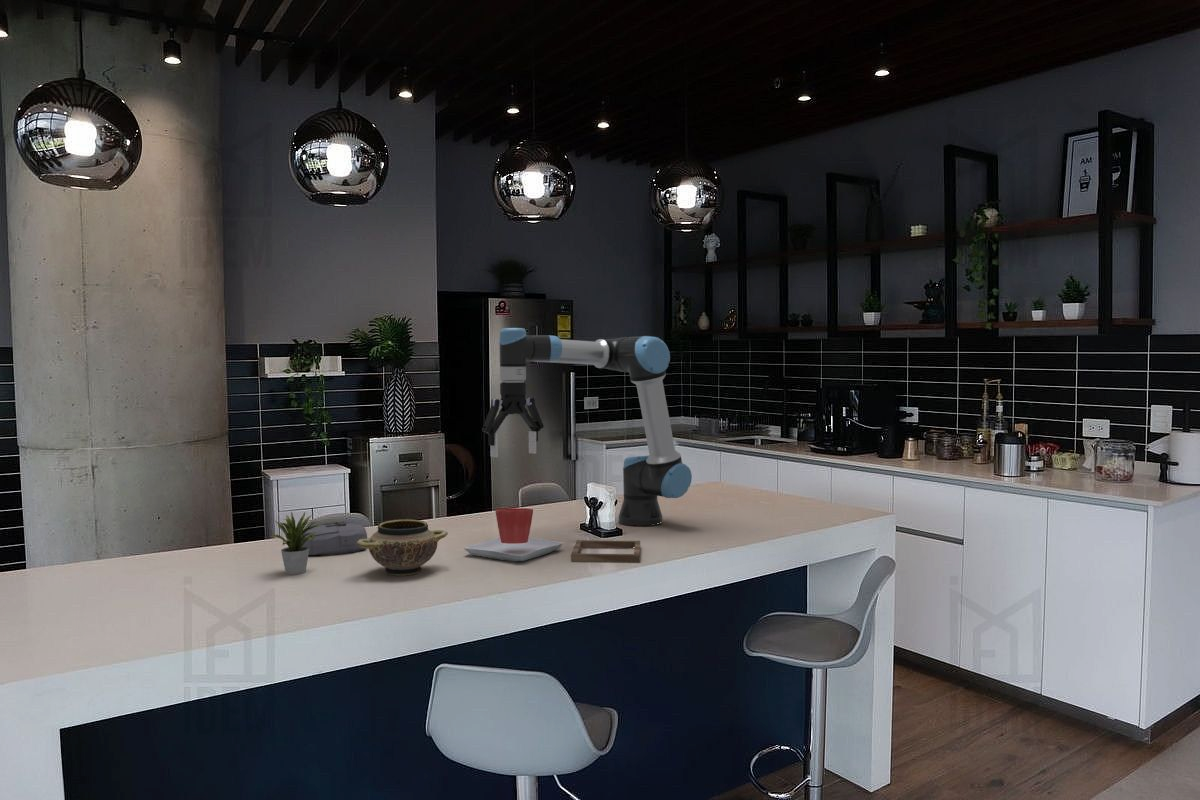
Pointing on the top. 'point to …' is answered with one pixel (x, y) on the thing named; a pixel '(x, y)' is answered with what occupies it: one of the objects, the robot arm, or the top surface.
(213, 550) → the top surface
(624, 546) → the holder frame
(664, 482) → the robot arm
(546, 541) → the salad plate
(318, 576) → the top surface
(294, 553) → the house plant
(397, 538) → the ceramic bowl
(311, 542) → the soft grey pack
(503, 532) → the flower pot
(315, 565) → the top surface
